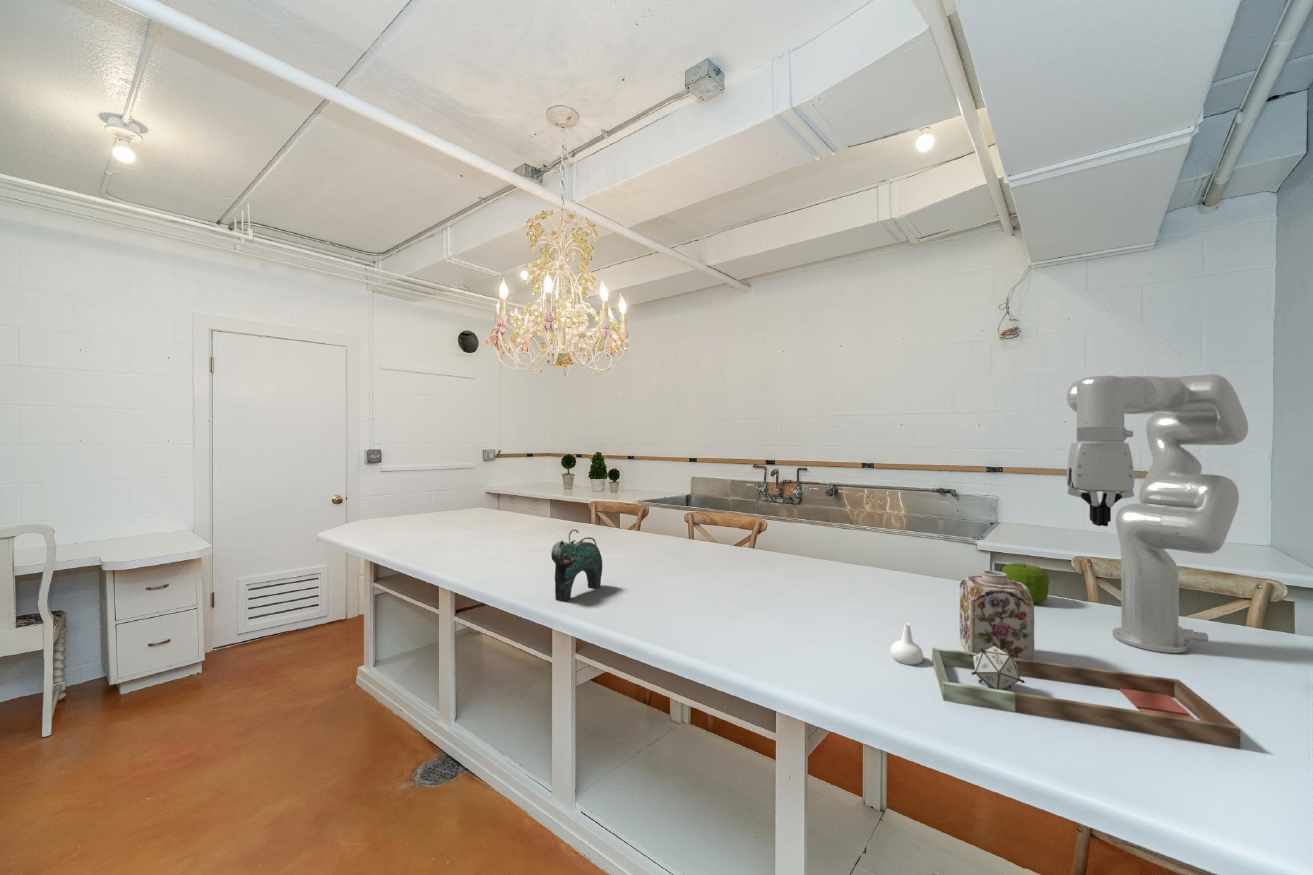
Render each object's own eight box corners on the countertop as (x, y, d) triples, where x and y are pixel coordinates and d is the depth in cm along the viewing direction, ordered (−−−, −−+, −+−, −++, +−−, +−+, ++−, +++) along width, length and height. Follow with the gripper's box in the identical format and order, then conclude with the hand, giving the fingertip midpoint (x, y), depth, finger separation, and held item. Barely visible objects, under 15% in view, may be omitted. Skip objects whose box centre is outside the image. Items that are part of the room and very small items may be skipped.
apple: (1006, 604, 146) (1006, 565, 146) (997, 592, 156) (997, 556, 156) (1054, 608, 142) (1054, 568, 142) (1041, 596, 152) (1041, 559, 152)
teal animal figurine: (562, 604, 149) (561, 534, 149) (546, 600, 153) (545, 532, 152) (606, 586, 166) (605, 524, 166) (590, 583, 169) (589, 522, 169)
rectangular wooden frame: (1178, 695, 95) (1178, 679, 95) (1240, 748, 79) (1240, 728, 79) (932, 661, 110) (932, 647, 110) (943, 700, 94) (943, 683, 94)
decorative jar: (969, 662, 110) (969, 577, 110) (958, 641, 121) (958, 563, 121) (1036, 670, 106) (1036, 582, 105) (1019, 648, 117) (1018, 568, 116)
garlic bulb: (891, 665, 110) (890, 629, 109) (889, 651, 116) (889, 616, 115) (924, 670, 107) (924, 633, 107) (921, 655, 113) (921, 620, 112)
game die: (1008, 711, 97) (1046, 681, 92) (968, 697, 97) (1004, 666, 92) (988, 669, 105) (1022, 639, 100) (950, 655, 104) (983, 625, 99)
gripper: (1137, 436, 108) (1137, 524, 108) (1050, 436, 114) (1050, 520, 114) (1155, 436, 101) (1155, 530, 101) (1062, 436, 107) (1062, 526, 107)
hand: (1100, 524), depth 108 cm, fingers closed
